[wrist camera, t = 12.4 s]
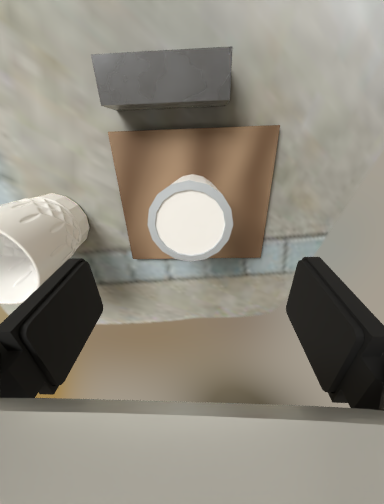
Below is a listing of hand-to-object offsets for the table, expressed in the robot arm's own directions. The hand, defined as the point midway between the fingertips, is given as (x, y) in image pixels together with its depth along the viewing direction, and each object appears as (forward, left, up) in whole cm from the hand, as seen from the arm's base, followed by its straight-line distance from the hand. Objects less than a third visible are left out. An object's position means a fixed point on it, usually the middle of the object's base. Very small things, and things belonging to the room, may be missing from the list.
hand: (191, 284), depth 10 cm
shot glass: (0, 0, -15) cm, 15 cm away
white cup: (+16, +2, -16) cm, 23 cm away
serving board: (0, 0, -15) cm, 15 cm away
